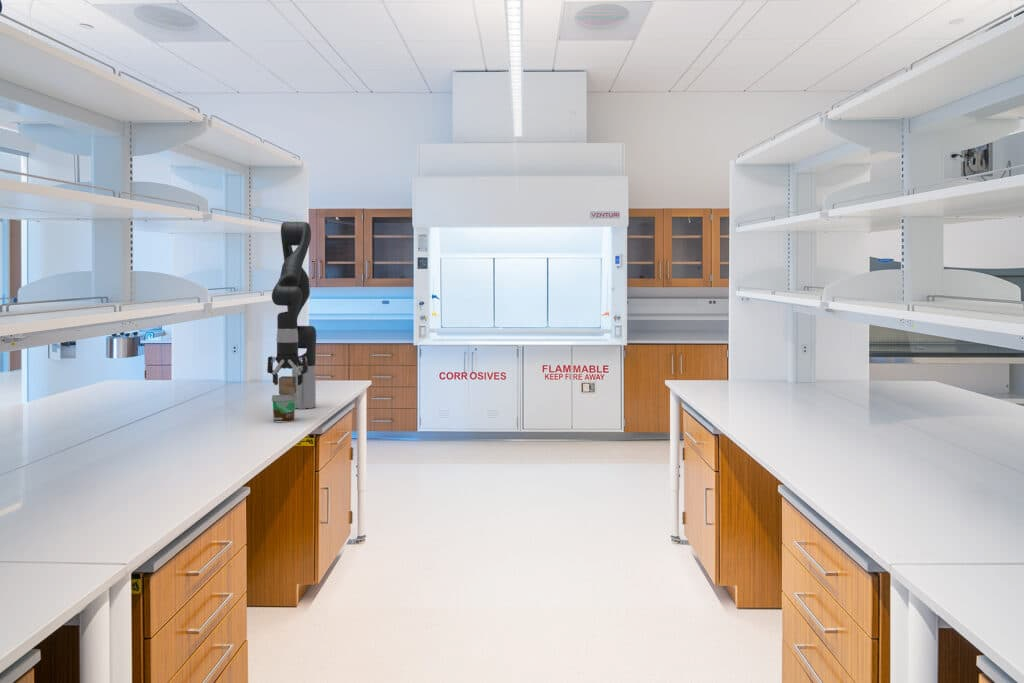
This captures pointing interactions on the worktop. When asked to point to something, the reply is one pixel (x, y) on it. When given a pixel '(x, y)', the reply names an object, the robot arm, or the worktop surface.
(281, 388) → the walnut block
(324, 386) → the worktop surface
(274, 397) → the food container
